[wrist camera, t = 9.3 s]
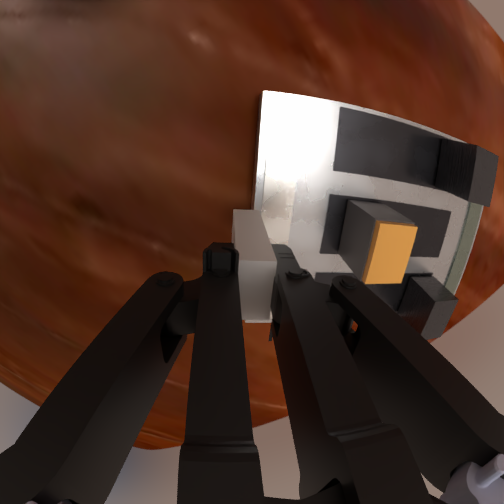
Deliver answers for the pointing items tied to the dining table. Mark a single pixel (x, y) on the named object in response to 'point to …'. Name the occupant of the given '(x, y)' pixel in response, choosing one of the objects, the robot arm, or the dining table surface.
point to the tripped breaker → (376, 242)
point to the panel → (370, 194)
